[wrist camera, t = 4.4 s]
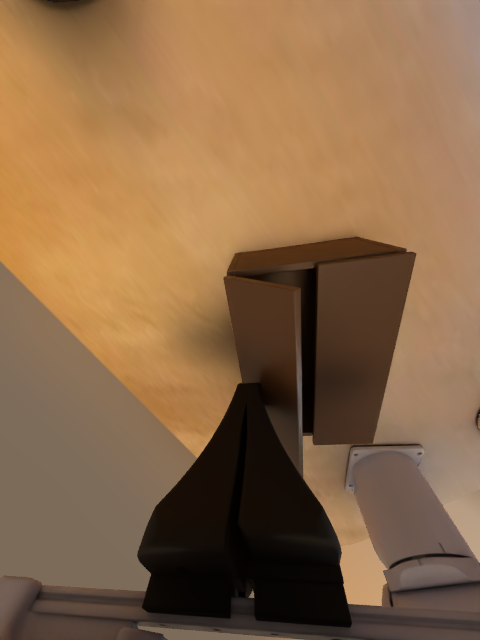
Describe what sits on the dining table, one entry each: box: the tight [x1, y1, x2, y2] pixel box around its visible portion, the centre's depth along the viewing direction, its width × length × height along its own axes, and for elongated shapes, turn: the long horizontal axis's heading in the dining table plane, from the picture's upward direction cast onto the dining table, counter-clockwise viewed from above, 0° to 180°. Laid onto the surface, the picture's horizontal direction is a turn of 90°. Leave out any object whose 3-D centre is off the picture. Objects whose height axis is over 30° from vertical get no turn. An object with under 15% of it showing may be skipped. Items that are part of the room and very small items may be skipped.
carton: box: [227, 237, 416, 445], centre depth 16 cm, size 14×9×6 cm, turn 8°
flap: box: [224, 275, 303, 478], centre depth 12 cm, size 14×4×1 cm
